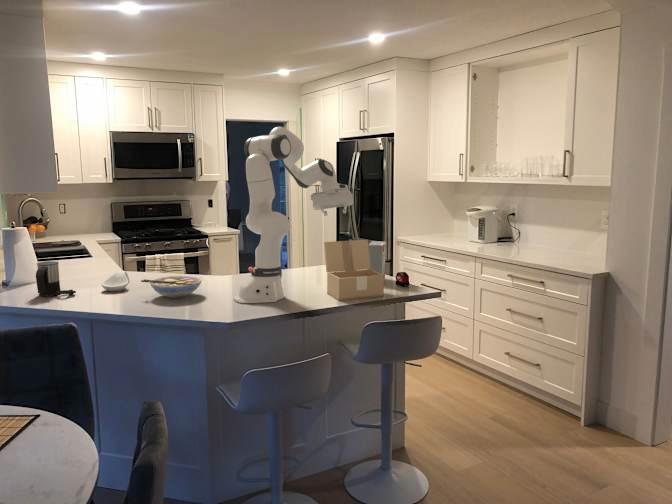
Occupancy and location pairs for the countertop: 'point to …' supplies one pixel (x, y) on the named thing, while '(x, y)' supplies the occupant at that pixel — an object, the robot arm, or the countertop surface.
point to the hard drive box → (377, 256)
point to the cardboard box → (355, 284)
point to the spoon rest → (116, 282)
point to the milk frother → (49, 279)
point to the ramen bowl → (175, 285)
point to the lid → (346, 255)
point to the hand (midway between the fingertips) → (335, 213)
